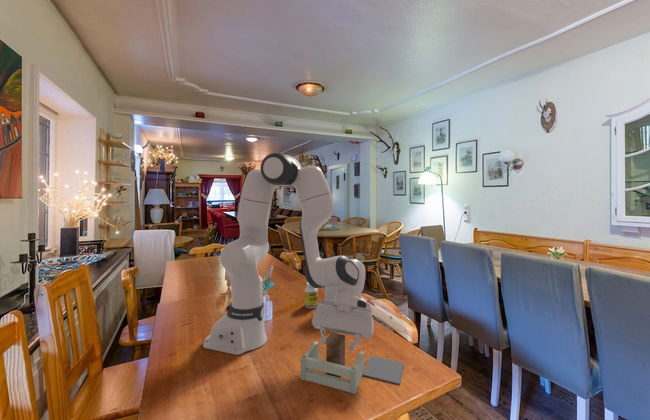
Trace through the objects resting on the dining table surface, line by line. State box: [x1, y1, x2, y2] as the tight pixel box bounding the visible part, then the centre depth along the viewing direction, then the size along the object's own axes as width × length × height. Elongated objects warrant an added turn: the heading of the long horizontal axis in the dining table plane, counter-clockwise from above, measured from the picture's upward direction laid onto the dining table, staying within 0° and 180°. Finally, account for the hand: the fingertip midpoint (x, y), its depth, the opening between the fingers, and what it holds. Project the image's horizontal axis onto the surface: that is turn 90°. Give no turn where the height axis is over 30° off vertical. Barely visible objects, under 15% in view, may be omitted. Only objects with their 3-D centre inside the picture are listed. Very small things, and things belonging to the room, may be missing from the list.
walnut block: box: [325, 332, 346, 378], centre depth 89 cm, size 4×4×11 cm
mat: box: [362, 355, 405, 386], centre depth 90 cm, size 11×11×1 cm
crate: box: [300, 341, 365, 395], centre depth 87 cm, size 17×10×6 cm, turn 68°
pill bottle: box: [304, 281, 319, 309], centre depth 140 cm, size 6×6×12 cm
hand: (337, 346), depth 89 cm, fingers open, 8 cm apart
